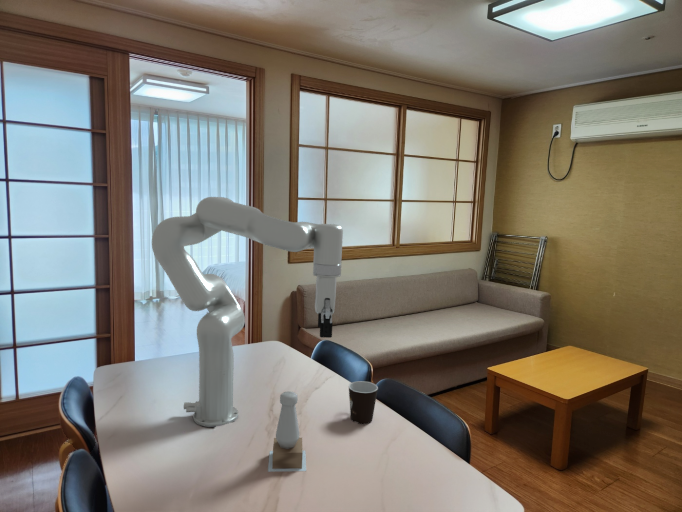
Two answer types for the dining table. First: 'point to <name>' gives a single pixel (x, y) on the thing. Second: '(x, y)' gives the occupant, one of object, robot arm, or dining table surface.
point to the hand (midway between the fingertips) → (324, 331)
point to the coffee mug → (362, 401)
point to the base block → (287, 456)
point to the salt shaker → (288, 421)
